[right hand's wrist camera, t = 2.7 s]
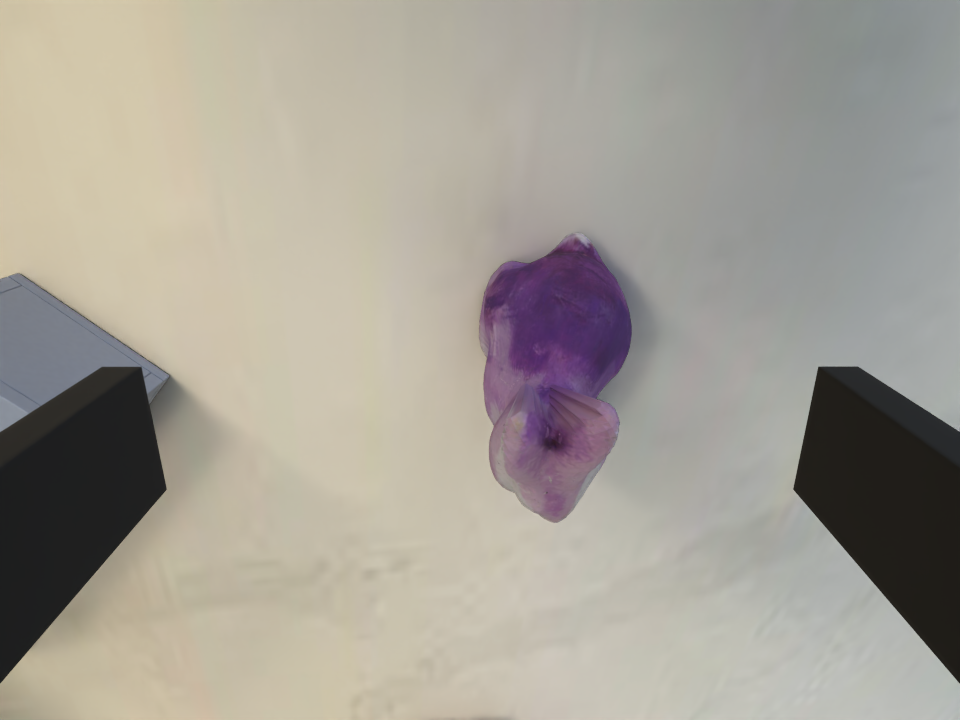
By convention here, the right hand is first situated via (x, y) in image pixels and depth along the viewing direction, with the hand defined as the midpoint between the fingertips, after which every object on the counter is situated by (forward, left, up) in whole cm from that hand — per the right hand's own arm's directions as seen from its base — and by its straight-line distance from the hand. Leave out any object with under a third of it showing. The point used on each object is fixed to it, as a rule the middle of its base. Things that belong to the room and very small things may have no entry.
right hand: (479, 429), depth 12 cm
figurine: (+7, -1, -24) cm, 25 cm away
